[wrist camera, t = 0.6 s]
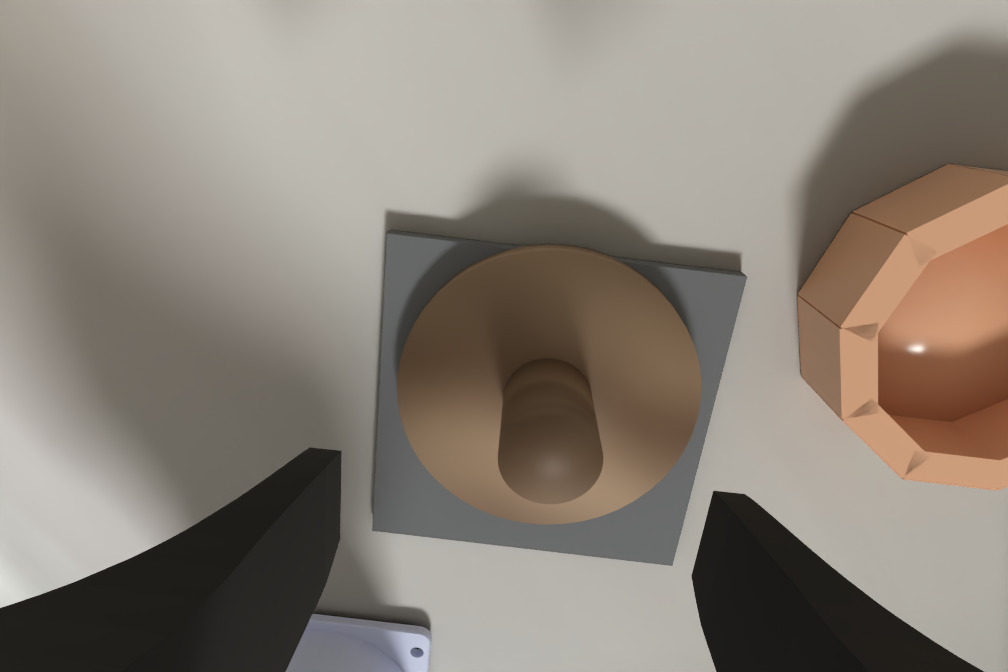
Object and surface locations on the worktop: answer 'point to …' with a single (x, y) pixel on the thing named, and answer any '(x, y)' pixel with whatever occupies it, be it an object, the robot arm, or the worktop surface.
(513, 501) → the lid
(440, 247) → the mat
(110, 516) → the worktop surface
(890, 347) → the bowl
